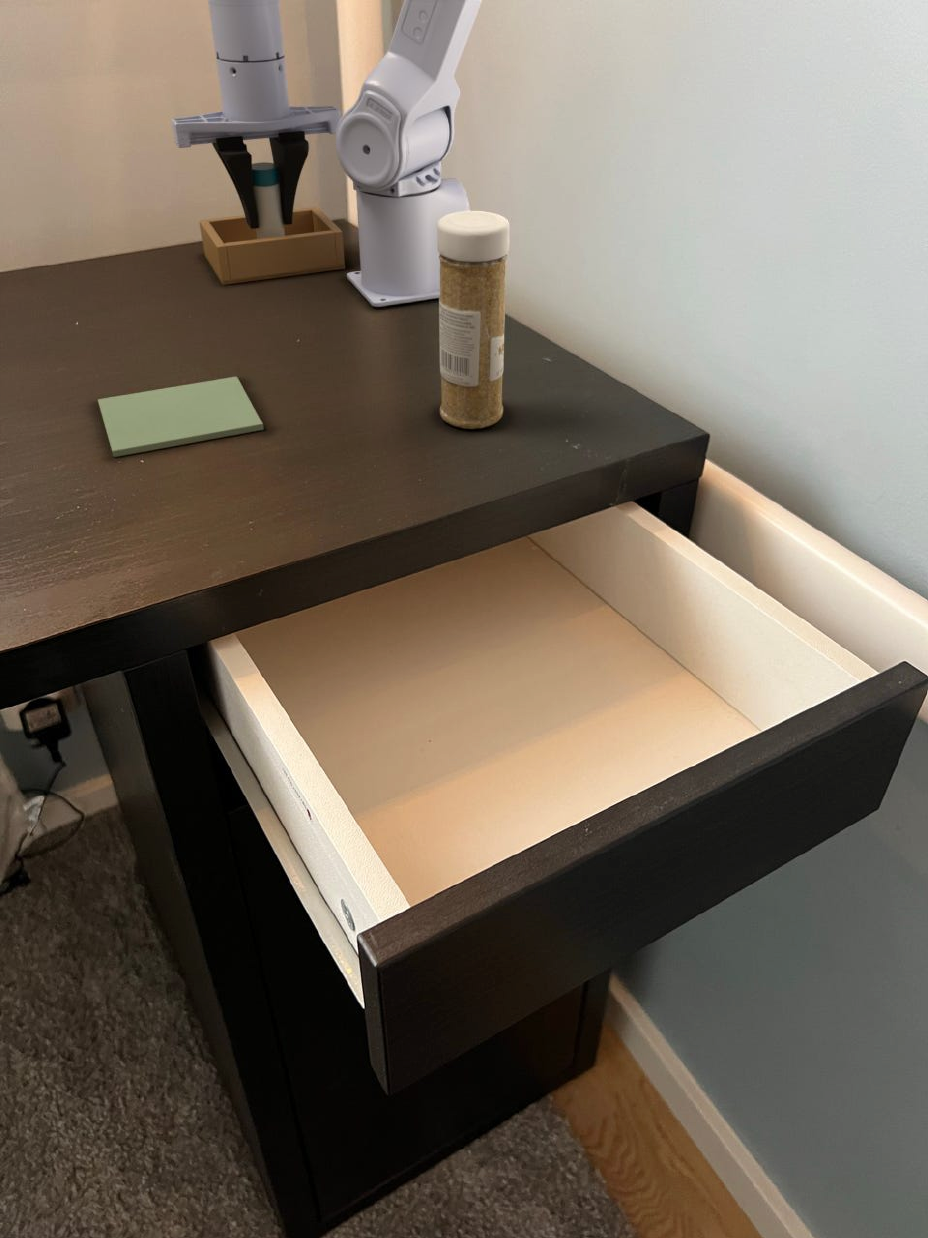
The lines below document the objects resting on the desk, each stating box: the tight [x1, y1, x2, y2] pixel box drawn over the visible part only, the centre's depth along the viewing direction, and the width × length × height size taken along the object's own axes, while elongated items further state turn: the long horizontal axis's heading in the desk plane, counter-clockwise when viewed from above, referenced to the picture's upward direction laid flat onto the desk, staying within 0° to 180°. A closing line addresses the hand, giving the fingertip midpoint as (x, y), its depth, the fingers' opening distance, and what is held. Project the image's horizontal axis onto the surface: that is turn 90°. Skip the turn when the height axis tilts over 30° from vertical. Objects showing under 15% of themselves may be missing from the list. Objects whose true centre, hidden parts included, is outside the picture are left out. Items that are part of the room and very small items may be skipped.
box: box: [198, 206, 346, 286], centre depth 91 cm, size 12×8×3 cm
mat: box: [97, 376, 264, 458], centre depth 67 cm, size 10×8×1 cm
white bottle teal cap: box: [252, 161, 285, 239], centre depth 89 cm, size 3×3×8 cm
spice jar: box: [437, 210, 511, 430], centre depth 64 cm, size 5×5×13 cm
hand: (269, 223), depth 89 cm, fingers closed on white bottle teal cap, 2 cm apart
